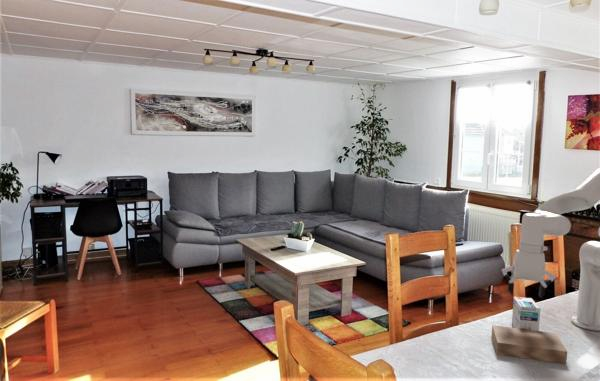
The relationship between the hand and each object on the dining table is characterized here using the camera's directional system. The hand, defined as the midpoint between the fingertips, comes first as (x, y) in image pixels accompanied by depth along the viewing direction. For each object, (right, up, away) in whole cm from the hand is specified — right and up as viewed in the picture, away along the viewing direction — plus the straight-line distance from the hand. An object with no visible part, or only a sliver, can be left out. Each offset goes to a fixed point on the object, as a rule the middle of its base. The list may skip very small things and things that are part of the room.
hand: (525, 295), depth 166 cm
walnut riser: (-6, -15, -13) cm, 21 cm away
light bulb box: (0, -13, +2) cm, 14 cm away
